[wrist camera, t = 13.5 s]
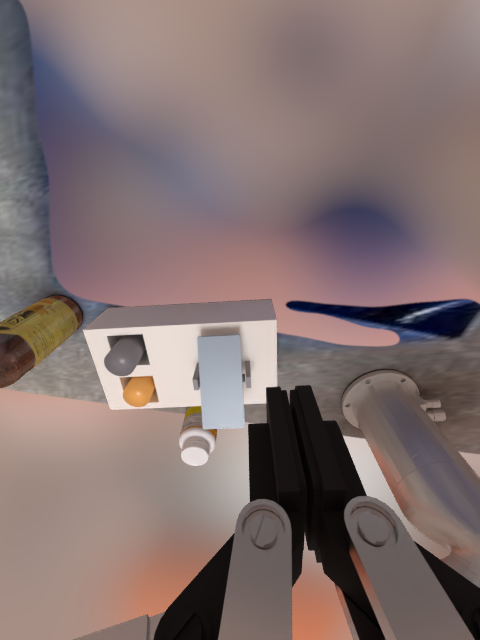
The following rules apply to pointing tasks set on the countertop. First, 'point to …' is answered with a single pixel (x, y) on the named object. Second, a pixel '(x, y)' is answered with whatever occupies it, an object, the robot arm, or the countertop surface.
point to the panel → (186, 348)
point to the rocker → (221, 381)
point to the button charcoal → (125, 355)
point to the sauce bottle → (35, 335)
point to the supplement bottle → (196, 438)
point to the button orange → (139, 391)
